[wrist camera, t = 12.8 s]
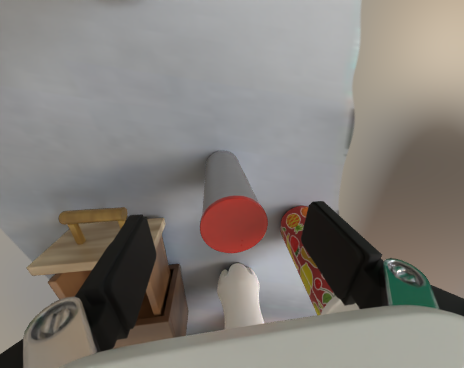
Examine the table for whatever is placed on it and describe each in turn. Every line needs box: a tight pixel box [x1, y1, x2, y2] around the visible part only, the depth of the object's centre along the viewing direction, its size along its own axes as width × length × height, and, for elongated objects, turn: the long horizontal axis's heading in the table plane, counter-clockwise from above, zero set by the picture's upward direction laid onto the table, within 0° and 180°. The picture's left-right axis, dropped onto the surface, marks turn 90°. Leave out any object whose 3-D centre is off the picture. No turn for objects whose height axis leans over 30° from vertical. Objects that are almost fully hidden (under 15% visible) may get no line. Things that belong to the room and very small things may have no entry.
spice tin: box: [200, 151, 268, 253], centre depth 17 cm, size 5×5×12 cm
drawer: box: [27, 207, 172, 319], centre depth 22 cm, size 17×11×7 cm
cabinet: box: [113, 264, 188, 349], centre depth 28 cm, size 14×13×9 cm
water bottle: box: [217, 263, 264, 330], centre depth 21 cm, size 7×7×25 cm
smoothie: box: [280, 206, 359, 315], centre depth 19 cm, size 8×8×20 cm
